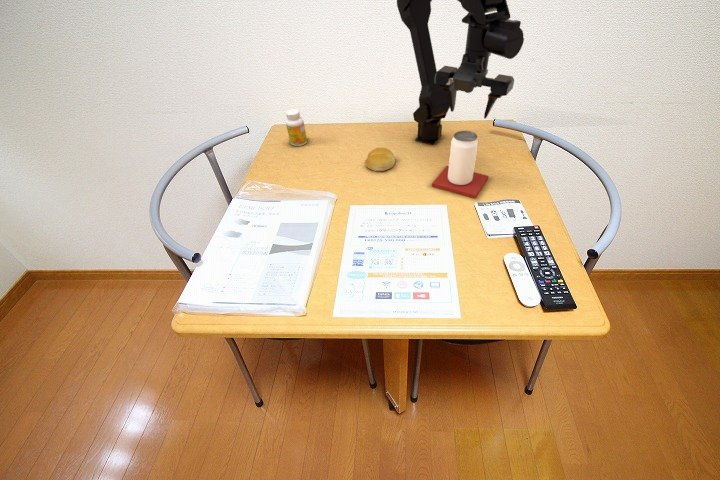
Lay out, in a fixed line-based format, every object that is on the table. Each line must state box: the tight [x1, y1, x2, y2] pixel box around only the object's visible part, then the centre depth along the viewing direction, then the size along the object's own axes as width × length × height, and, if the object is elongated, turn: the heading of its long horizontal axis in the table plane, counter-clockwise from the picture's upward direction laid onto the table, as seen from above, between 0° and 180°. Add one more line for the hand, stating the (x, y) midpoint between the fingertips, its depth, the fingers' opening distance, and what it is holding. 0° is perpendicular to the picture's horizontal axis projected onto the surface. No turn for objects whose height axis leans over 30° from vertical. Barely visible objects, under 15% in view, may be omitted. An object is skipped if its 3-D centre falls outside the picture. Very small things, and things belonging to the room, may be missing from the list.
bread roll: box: [364, 146, 396, 172], centre depth 103 cm, size 8×9×4 cm
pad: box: [431, 165, 489, 199], centre depth 96 cm, size 12×10×1 cm
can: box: [448, 130, 479, 185], centre depth 91 cm, size 6×6×12 cm
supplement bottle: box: [285, 108, 308, 147], centre depth 112 cm, size 5×5×10 cm
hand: (468, 114), depth 96 cm, fingers open, 9 cm apart
